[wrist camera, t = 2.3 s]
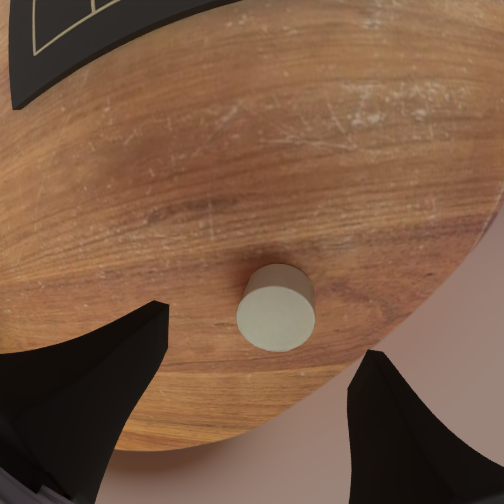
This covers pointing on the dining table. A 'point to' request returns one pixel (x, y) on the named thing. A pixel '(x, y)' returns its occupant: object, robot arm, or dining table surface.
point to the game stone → (277, 308)
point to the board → (79, 35)
